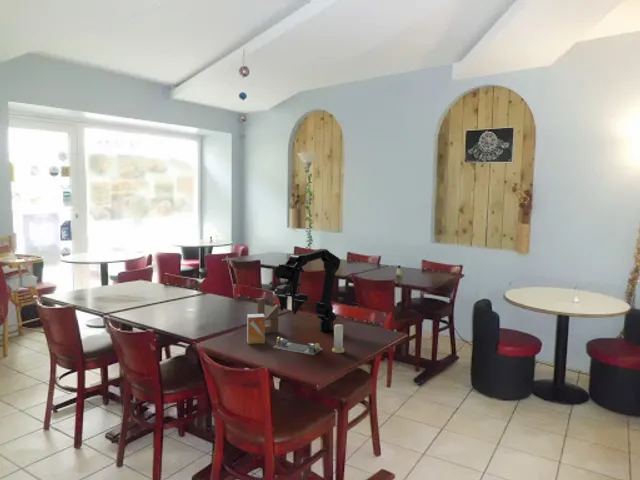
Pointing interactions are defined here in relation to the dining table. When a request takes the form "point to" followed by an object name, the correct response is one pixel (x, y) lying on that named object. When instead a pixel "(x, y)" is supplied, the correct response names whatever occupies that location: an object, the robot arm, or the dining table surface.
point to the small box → (255, 328)
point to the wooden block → (269, 316)
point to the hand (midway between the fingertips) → (287, 312)
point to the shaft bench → (297, 347)
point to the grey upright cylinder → (338, 339)
